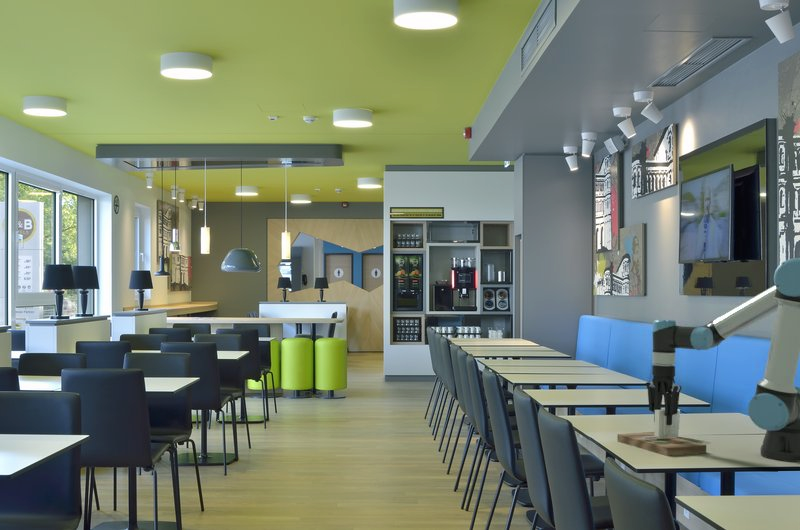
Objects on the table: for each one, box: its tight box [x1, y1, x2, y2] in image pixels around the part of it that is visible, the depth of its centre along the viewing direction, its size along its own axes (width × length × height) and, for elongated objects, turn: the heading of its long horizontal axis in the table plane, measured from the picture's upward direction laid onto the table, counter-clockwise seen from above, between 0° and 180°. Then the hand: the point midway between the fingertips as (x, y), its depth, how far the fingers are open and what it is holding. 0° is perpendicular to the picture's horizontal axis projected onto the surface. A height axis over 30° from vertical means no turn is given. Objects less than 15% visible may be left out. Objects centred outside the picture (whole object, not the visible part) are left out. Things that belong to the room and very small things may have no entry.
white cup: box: [661, 407, 681, 438], centre depth 304 cm, size 8×8×10 cm
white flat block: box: [643, 409, 672, 439], centre depth 284 cm, size 2×11×10 cm, turn 114°
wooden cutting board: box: [616, 431, 707, 457], centre depth 284 cm, size 26×16×3 cm, turn 22°
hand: (662, 433), depth 285 cm, fingers closed on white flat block, 3 cm apart
